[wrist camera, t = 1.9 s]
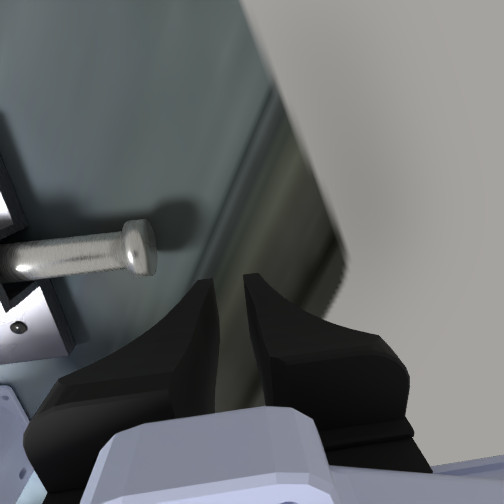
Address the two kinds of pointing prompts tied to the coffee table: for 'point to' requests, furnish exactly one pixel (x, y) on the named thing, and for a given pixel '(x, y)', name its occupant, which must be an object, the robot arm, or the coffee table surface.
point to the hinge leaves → (27, 300)
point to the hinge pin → (82, 254)
